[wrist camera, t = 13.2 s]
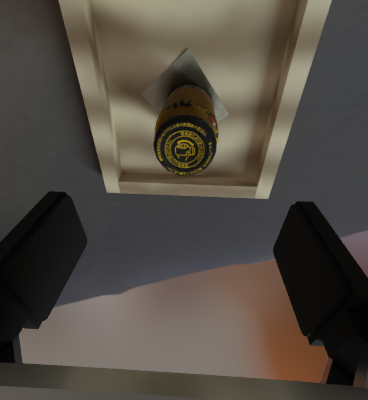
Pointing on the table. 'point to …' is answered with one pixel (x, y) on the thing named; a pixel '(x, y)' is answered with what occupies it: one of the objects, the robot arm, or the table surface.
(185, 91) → the condiment
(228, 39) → the tray
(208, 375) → the robot arm
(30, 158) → the table surface
